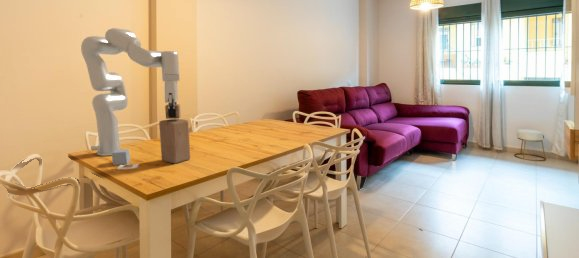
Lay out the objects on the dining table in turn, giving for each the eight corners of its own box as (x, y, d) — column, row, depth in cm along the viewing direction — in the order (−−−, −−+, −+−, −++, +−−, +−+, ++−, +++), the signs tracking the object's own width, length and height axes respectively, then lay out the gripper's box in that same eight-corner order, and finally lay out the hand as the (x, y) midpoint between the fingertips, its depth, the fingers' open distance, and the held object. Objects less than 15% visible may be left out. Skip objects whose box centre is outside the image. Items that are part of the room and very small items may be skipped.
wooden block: (174, 164, 152) (171, 122, 148) (161, 161, 157) (158, 120, 154) (191, 159, 160) (189, 119, 157) (177, 156, 166) (175, 118, 162)
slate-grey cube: (113, 165, 151) (111, 152, 150) (116, 161, 157) (115, 149, 156) (126, 164, 152) (125, 152, 151) (130, 160, 158) (129, 149, 157)
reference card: (117, 169, 144) (117, 167, 144) (120, 166, 149) (120, 164, 149) (136, 168, 146) (136, 166, 146) (139, 165, 151) (138, 163, 150)
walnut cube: (165, 118, 151) (165, 105, 150) (167, 116, 157) (167, 104, 156) (179, 118, 153) (178, 105, 152) (180, 116, 158) (180, 104, 157)
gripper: (165, 77, 159) (167, 113, 162) (159, 78, 142) (162, 119, 146) (181, 77, 161) (183, 113, 164) (177, 78, 144) (179, 118, 147)
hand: (173, 115), depth 155 cm, fingers closed on walnut cube, 5 cm apart
